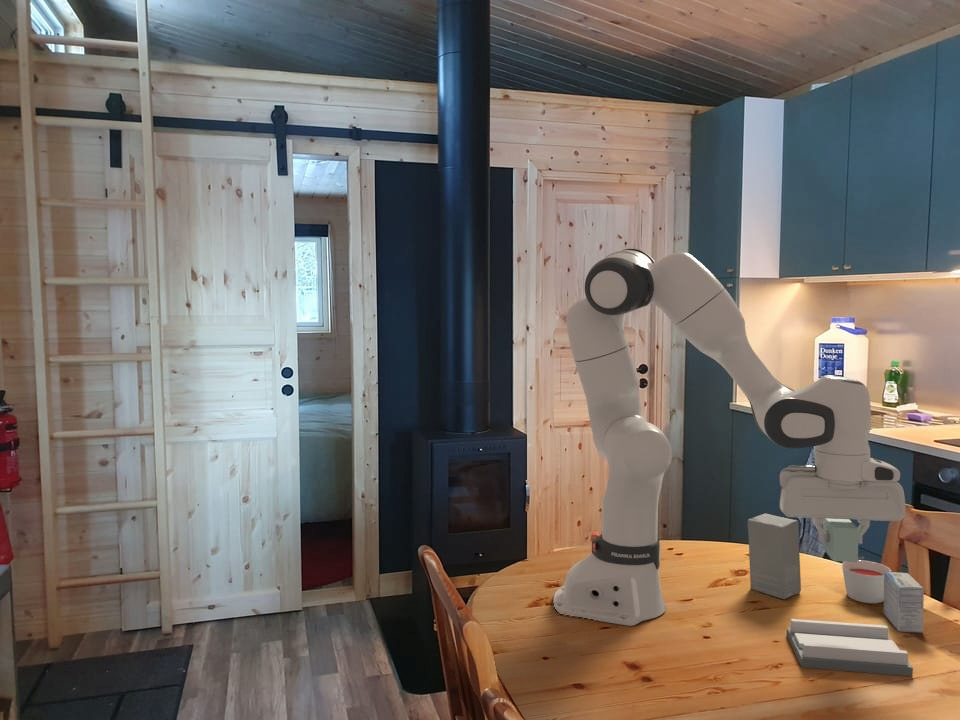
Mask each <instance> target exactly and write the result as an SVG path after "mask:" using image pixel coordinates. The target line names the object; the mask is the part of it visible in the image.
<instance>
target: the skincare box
mask: <svg viewBox="0 0 960 720" xmlns="http://www.w3.org/2000/svg"><path fill="white" fill-rule="evenodd" d="M747 531H748V532H747V533H748V553H749V558H748V559H749V578H750V579H749V580H750V581H749V582H750V584H749V585H750V589H751V590H754V591H756V592H760V593H763V594H765V595H769V596H771V597H772V596H773V597H775V598H778V599H782V600H786V599H788V598H790V597H793V596H795V595H798V594H800V593H801V591H802V583H801V581H802V580H801V579H802V578H801V559H800V557H801V556H800V554H801V553H800V536H799V533H800V532H799V520H797V519H792V518H789V517H782V516H777V515H774V514H769V513H766V512H765V513H763V514H760V515H756V516H754V517H750V518H748V519H747Z"/></svg>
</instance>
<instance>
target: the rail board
mask: <svg viewBox="0 0 960 720" xmlns="http://www.w3.org/2000/svg"><path fill="white" fill-rule="evenodd" d="M786 637H787V639H788V641H789V643H790V645H791V648H792V650H793V653H795V654H794V655H795V656H796V658H797V660H798V663H799V665H800V667H801V668H804V669H805V668H806V669H819V670H830V671H831V670H832V671H841V672H856V673H864V674H865V673H867V674H876V675H877V674H879V675H890V676H901V675H902V676H903V677H912V676H913V674H914V668H913V666H912V665H911V663H910V662H909V652H908V651H907V650H902V649H900V648H899V647H898V645H897V644H896V643H895V642H894V640H893V639H892V638H891V637H890V636H889V627H888V626H887V625H886V624H885V625H883V624H871V623H870V624H869V623H854V622H841V621H840V622H839V621H829V620H828V621H827V620H826V621H825V620H815V619H814V620H811V619H798V618H790V627H786Z"/></svg>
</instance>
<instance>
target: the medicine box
mask: <svg viewBox="0 0 960 720" xmlns="http://www.w3.org/2000/svg"><path fill="white" fill-rule="evenodd" d="M924 595H925V594H924V587H923V586H921V584H920V583H919V582H918V581H916V579H914V578H913V577H912V576H911V574H909V573H907V572H895V571H894V572H893V571H891V572H885V575H884V601H883V614H884V616H885V617H886V618H887V619H888V621H889V622H890V623H891V625H893V627H894V628H895V629H896V630H897V631H898V632H902V633H903V632H904V633H917V634H918V633H920V634H922V633H924V597H925V596H924Z"/></svg>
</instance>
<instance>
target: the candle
mask: <svg viewBox="0 0 960 720" xmlns="http://www.w3.org/2000/svg"><path fill="white" fill-rule="evenodd" d="M841 567H842V573H843V580H844V586H845V591H846V595H847V596H848V597H849V598H850V599H852V600H853V601H857V602H860V603H865V604H880V603H882V602H883V603H884V575H885V572H892V570H891V568H890V567H888V566H886V565H884V564H881V563H878V562H875V561H870V560H863V559H858V562H844V561H842V563H841Z"/></svg>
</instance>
